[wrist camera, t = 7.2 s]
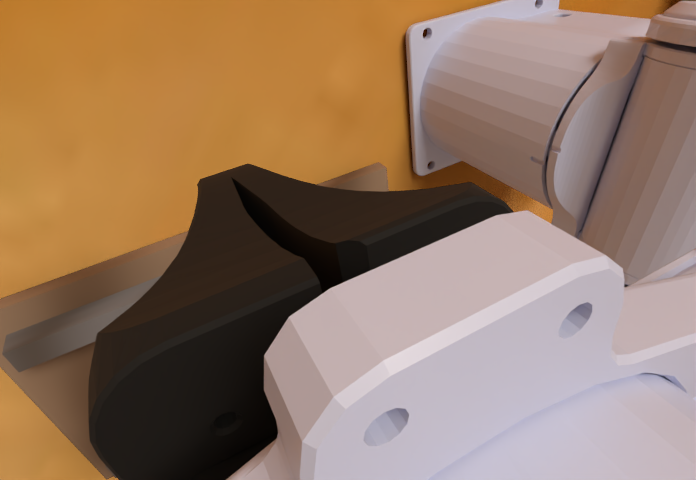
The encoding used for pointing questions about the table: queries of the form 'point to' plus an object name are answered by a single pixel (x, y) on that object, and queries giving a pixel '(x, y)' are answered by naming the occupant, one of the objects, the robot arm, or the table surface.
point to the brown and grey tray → (93, 323)
